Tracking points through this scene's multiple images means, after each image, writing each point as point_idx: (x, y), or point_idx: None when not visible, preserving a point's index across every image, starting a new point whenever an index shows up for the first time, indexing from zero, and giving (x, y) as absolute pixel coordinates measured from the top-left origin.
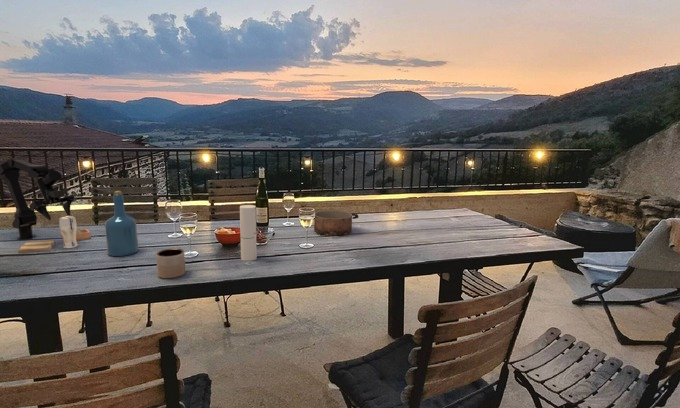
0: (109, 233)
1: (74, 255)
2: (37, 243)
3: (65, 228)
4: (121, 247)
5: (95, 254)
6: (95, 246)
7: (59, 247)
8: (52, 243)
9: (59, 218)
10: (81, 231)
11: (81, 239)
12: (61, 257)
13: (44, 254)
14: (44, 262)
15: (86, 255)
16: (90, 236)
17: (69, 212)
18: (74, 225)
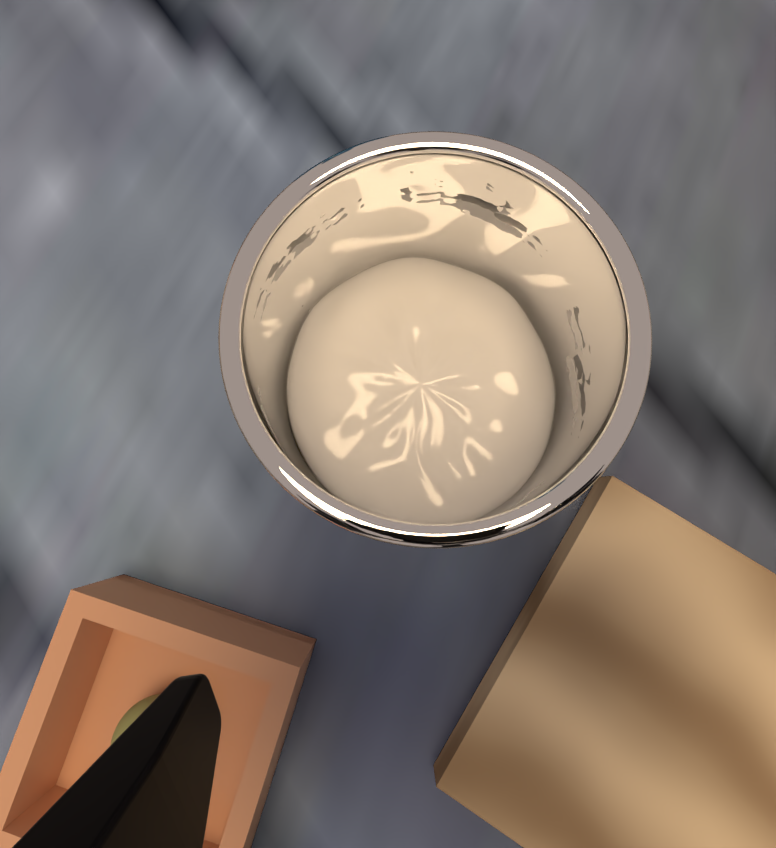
0: None
1: (517, 129)
2: (645, 768)
3: (512, 291)
4: None
5: (393, 22)
6: None
7: None
8: (521, 631)
9: (647, 350)
10: None
11: (210, 606)
12: (614, 160)
13: (682, 372)
14: (761, 136)
15: (453, 53)
16: (109, 579)
17: (118, 765)
18: (357, 258)
